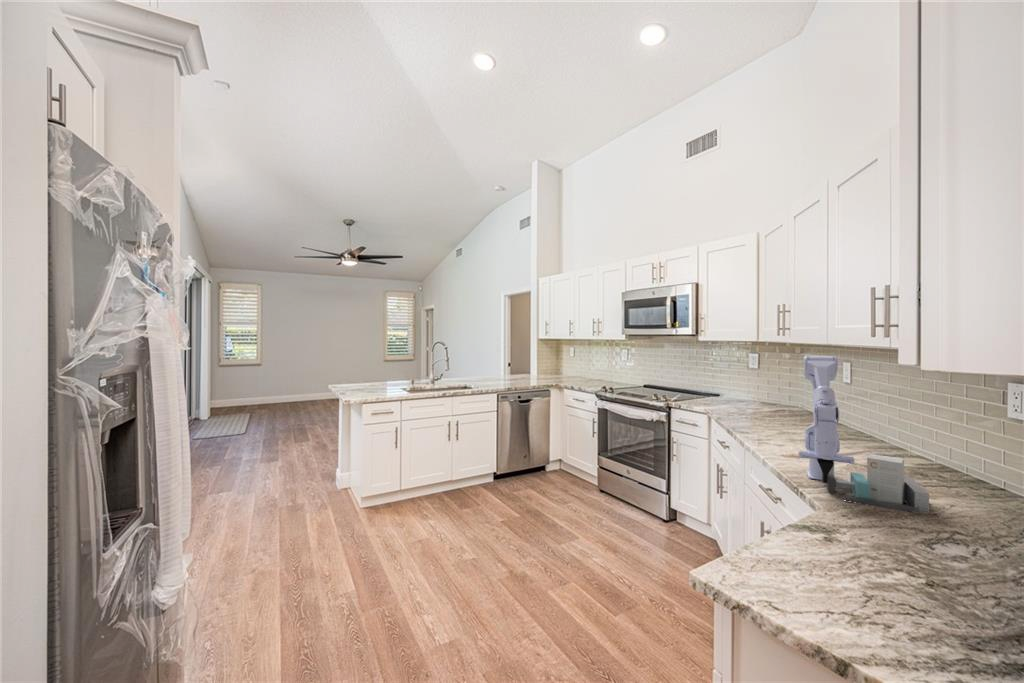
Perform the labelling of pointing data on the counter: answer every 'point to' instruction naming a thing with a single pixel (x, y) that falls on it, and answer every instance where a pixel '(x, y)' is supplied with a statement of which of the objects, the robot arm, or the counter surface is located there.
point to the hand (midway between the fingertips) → (825, 482)
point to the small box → (886, 478)
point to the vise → (913, 497)
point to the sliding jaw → (851, 485)
